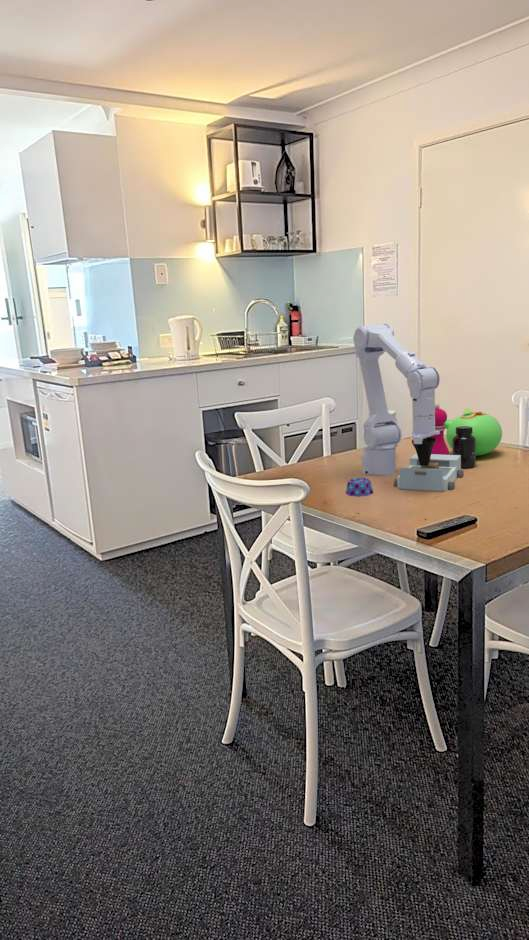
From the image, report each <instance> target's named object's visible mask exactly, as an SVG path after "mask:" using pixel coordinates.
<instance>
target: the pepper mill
mask: <svg viewBox="0 0 529 940" xmlns="http://www.w3.org/2000/svg"><path fill="white" fill-rule="evenodd" d="M440 407H441V405H440V403H437V402H435V430H436V431H440V434H438V435H433V436H430V437H436V441H435V443H434V446H433V448H432V452H431V454H440V455H450V451H449V448H448V446H447V444H446V442H445V441H446V440H445V438H444V434H445V433H444V432H445V431H446V428H445V424H444V423H445V422H446V420H448V413H447V412H446V410H444V409H442V408H440Z"/></svg>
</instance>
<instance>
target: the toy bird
mask: <svg viewBox="0 0 529 940" xmlns="http://www.w3.org/2000/svg"><path fill="white" fill-rule="evenodd" d="M444 424H445V430H446V434H445V435H446V441H447V444H448V445H449V447H450V448H451V449H452V439H453V437H454V436H456V433H455V432H456V427H459V426H470V427H472V431H473V433H472V435H473V436H474V437H475V438H476V457H479V456H483V455H484V456H485V455H486V454H489V453H491V452H492V451H494V450H495V449H496V448H497V447H498V446H499V445H500V443H501V441H502V437H503V431H502V430H503V429H502V426H501V424H500V422H499V421H498V420H497V418H496V417H493V416H492V415H490V414H488V413H484V412H482V410H481V411H479V410H477V411H471V409H470V408H469V407H468V408H465V409H464V411H463V413H462V414H461V415H459V416H457V417H456V418H454V419H447V420H446V422H445V423H444Z"/></svg>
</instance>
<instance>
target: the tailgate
mask: <svg viewBox="0 0 529 940" xmlns="http://www.w3.org/2000/svg"><path fill="white" fill-rule="evenodd" d="M399 475H400V487H399V488H398V489H399V490H401V491H418V492H432V493H433V492H434V493H435V492H436V493H443V492H444V491H443V490H442V488H443V469H428V468H408V467H403V466H402V467H401V466H400V467H399Z"/></svg>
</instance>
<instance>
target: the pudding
mask: <svg viewBox="0 0 529 940" xmlns="http://www.w3.org/2000/svg"><path fill="white" fill-rule="evenodd" d="M371 482H372V481H371V480H370V479H369V478H367V477H354V478H351V479H349V480H348V482H347V484H346V490H345V494H346V495H348V496H349V497H359V498H360V497H368V496H370V495H373V494H374V489H373V485H372V483H371Z"/></svg>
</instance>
